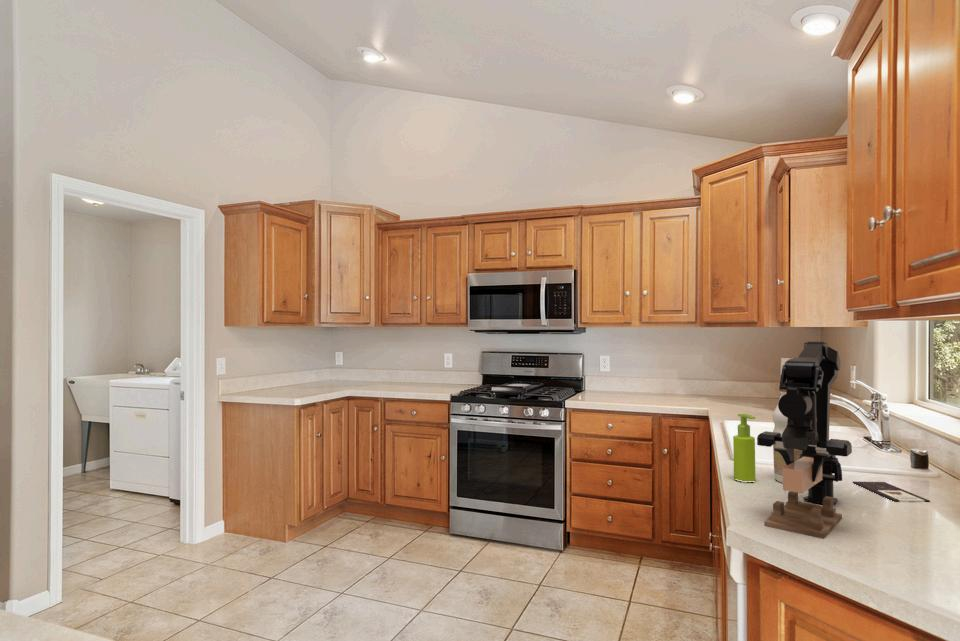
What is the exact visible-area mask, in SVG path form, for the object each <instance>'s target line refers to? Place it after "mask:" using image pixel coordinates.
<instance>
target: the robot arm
mask: <svg viewBox="0 0 960 641" xmlns="http://www.w3.org/2000/svg"><path fill="white" fill-rule="evenodd" d="M840 370H841V358H840V355H839V351H837V350H835V349H833V348H832V347H830V346H829V344H828V343H827V342H824V341H806V342H804V344H803V348H802V350H801V351H800V353H799V354H798V356H797V357H793V358H790V359H788V360H786V361H785V364H783V365H782V367H781V373H780V381H779V386H778V388H779V389H782V390H787V393H786V394H785V395H783V396H782V397H781V398H780V397H779V399H780V400H779V399H778V402H777V404H778V408H779V410H780V412H781V413H782V414H783V415H784V416H785V417H787V418H788V421H787V426H786V428H785V430H784V432H783V433H782V437H781V434H780V433H776V432H773V431H763V432H761V433H759V434H758V435H757V438H756V445H757V446H758V447H766V448H767V447H769V448H771V447H773V445H774V444H775V448H774V451H778V452H779V453H780V454H781V455H782V457H783V459H784V461H785V463H786V465H789V464H791V463H793V462H794V449H798V450H801V451H802V453H801V454H800V458H802V457H811V458H813V459H814V461H813V472H812V481H813V482H815V481H816V478H817V476H818V473H819V471H820V468H821V466H822V479H823V480H821V481H820V482H818V483H817V484H816V485H814V486H813V487H811V488H810V489H808V490H807V493H808V494H807V496H805V497H804V498H803V500H804V501H805V502H811V503H815V504H819V505H820V504H822V505H823V498H824V497H826V496H828V497H833V506H834V505H835V504H836V503H837V502H838V500H839V499H838V498H837V497H834V482H836V483H837V482H842V481H843V472H842V470H843V469H842V465H841V463H840V461H839V458H838V457H849V455H851V454H852V453H853V451H852V450H853V445H852V443H851V442H850V441H849V440H846V439H838V438H831V439H830V410H831V409H830V408H831V406H830V405H831V386H832V385H833V383H834V382H836V380H837V378H838V372H839V371H840ZM800 458H799V459H800Z"/></svg>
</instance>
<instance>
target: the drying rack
mask: <svg viewBox="0 0 960 641" xmlns="http://www.w3.org/2000/svg"><path fill="white" fill-rule="evenodd" d="M772 510H773V512H772V513H771V514H770V516H769V517H768V518H767V519H765V520H764V521H763V523H764V524H763V525H764V526H765V527H769V528H774V529H779V530H783V531H788V532H791V533H797V534H801V535H805V536H810V537H815V538H819V539H826V537H827V536H828V535H829V534H830V533H831V532H832V531H833V529H834V528H835V527H837V525H838V524H839V523H840V521H842V519H843V514H842V513H838V512H836V511H837V510H836V508H835V507H834V505H833V497H828V496H826V497H824V498H823V504H822V505H820V504H816V503H815V504H814V503H808V502H803V501H799V493H797V492H792V491H788V492H787V501H786V502H784V501H780V500H776V501H775V502H774V503H773V504H772Z"/></svg>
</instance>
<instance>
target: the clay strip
mask: <svg viewBox="0 0 960 641" xmlns="http://www.w3.org/2000/svg"><path fill="white" fill-rule="evenodd" d="M813 461H814V459H813V458H811V457H802V458H800V459H798V460H796V461H795V462H793V463H791V464H789V465H787V466H785V467H784V468H783V483H782V490H783V491H788V492H790V491H792V492H797V493H798V494H804V493H805V492H808V489H810V488H811V487H813V486H814V485H816V484H817V483H818V482H820V481H821V480H823V479H822V466H821V468H820V471H819V473H818V476H817V478H816V481H815V482H813V481H812V472H813Z"/></svg>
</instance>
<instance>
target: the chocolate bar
mask: <svg viewBox="0 0 960 641" xmlns="http://www.w3.org/2000/svg"><path fill="white" fill-rule="evenodd" d="M853 483H854V484H853ZM852 484H853V485H855V484H856V486H857V485H858V487H860V486H861V487H860V488H862V487H863V488H862V489H864V488H865V489H864V490H866V489H867V490H866V491H868V490H869V491H868V492H870V493H873V492H874V494H875V493H876V494H875V495H877V494H878V496H880V497H882V498H884V497H885V498H884V499H886V498H887V500H888V499H889V501H891V500H892V501H891V502H893V501H894V502H893V503H921V502H930V503H931V500H929V499H927V498H925V497H922V496H919V495H917V494H915V493H912V492H910V491H907V490H906V489H905V490H904V489H902V488H900V487H897V486H895V485H892V484H890V483H889V482H885V481H852Z"/></svg>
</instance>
